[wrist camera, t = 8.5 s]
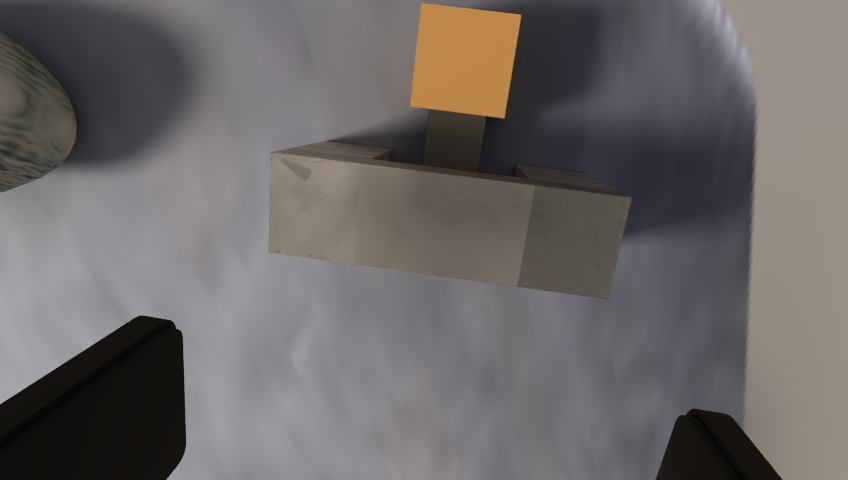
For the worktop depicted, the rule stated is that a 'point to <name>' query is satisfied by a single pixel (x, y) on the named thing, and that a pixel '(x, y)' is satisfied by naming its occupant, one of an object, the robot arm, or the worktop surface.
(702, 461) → the robot arm
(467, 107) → the plug
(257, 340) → the worktop surface
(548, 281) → the housing
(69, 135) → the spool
